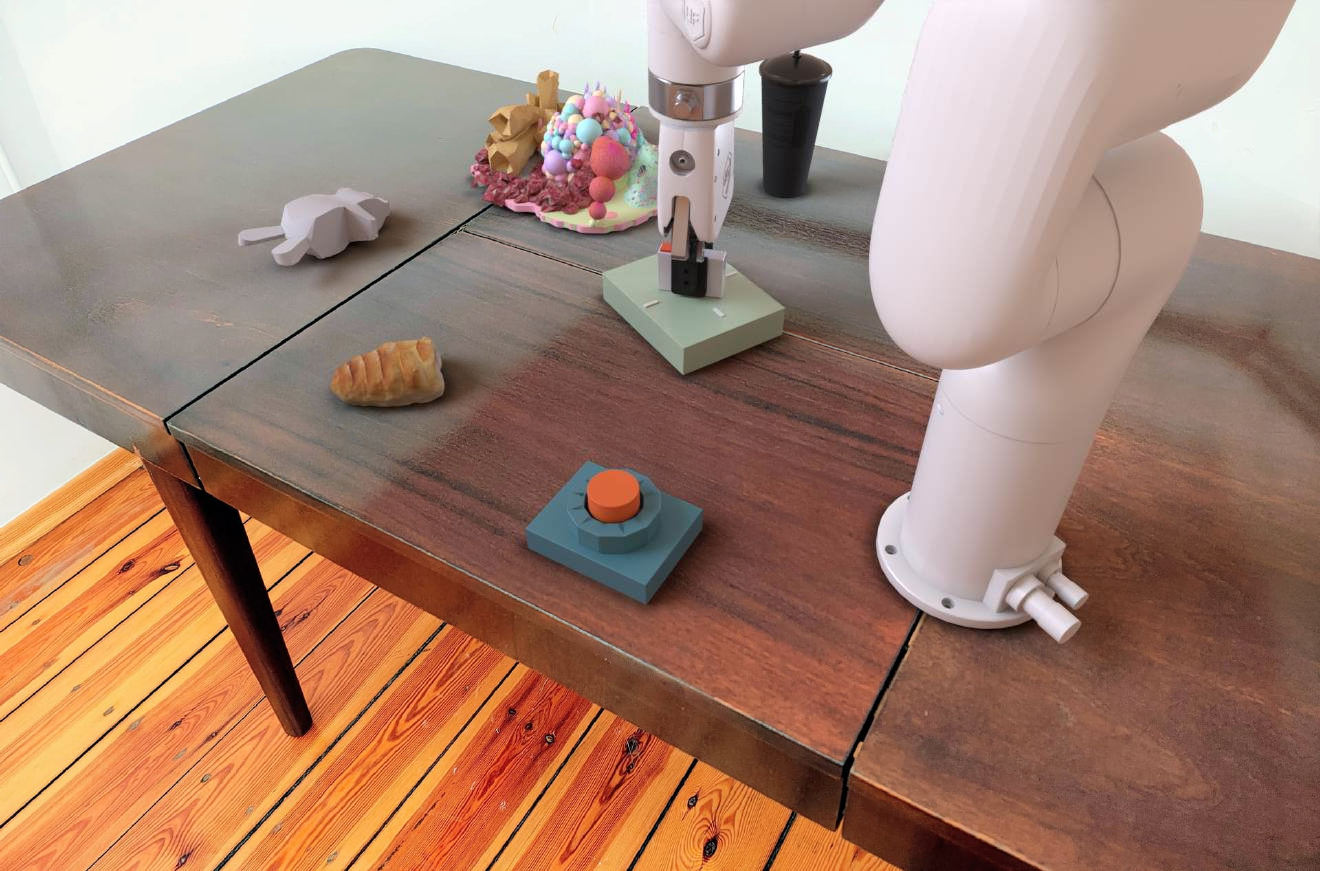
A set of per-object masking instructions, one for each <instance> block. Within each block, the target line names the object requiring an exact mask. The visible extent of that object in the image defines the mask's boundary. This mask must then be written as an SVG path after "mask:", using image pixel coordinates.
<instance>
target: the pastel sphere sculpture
mask: <svg viewBox="0 0 1320 871" xmlns="http://www.w3.org/2000/svg"><path fill="white" fill-rule="evenodd" d="M559 77H560V73H558V72H556V71H553V70H551V69H547V70H544V71H541V72H539V73H538V75H537V76H536V90H537V94H535V93H532V92H528V93H525V98H526V103H523V104H509V105H505V106H502V107H499V108H498V109H497V110H496V111H495V112H493V113H492V114H491V116H490V118H488V120H487V122H488V123H489V125H491V126H492V127H493V128H494V129H495V130H494V131H492V132H490V133H489V134H488V136H487V139H486V141H485V143H484V144H485V145H484V148H481V149H480V151H478V152H477V153H476V154H475V155H474V160H475V161H477V162H476V163H475V164H473V165H471V166H470V174H471V176H473V177H474V179H473V181H472V183H471V185H470V189H476V188H481V187H486V186H488V187H487V189H486V191H485V192H484V194H483V195H482V197H481V199H480V200H481V201H483V202H486V203H489V204H492V205H495V206H497V207H501V208H503V206H505V207H507V208H508V209H510V210H512V211H513V212H517V213H518V212H519V213H521V212H522V213H523V212H524V213H525V212H526V213H527V212H528V213H535V216H536V217H538V218H540V222H542V223H548V224H550V225H552V226H554V227H555V228H565V229H569V230H570V231H576V232H578V233H581V234H608V233H610V232H621V231H624V230H626V229H628V228H630V227H638V226H639V225H640V224H641V225H642V224H644V223H645V222H646V221H649V218H651V217H657V216H658V204H657V202H658V155H659V149H658V145H657V144H653V143H651V142H648V141H647V139H645V136H644V134H643V130H642V129H641V128H640V127H639V126H637V127H636V125H635V123H636V118H635V117H634V116H633V115H632V111H631V110H630V109H631V107H630V104H629V102H628V101H627V100H624V103H625V108H624V109H623V107H621V100H622V89H621V88H619V89H617V96H616V97H615V95H614V96H613V97H612V96H610V95H609V94H608V93H607V88H606V87H607V86H604V87H603V90H600V87H601V86H600V85H601V84H600V81H599V80H598V81H597V82H596V84H595V91H592V92H591V91H590V87H589V86H590V85H589V81H586V85H585V88H584V92H583V93H584V95H580V94H574V95H572V96H570V97H569V98H568V99H567V100H566V102H559V93H558V89H559V86H560V81H559V79H560V78H559ZM620 107H621V108H620Z"/></svg>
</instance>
